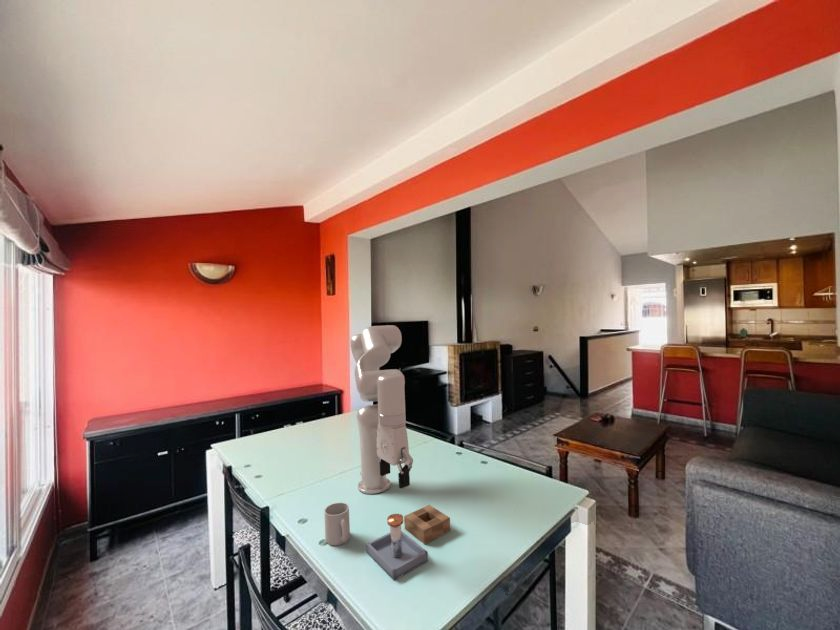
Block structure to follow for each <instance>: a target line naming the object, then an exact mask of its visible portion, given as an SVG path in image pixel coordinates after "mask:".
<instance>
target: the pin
mask: <svg viewBox="0 0 840 630" xmlns="http://www.w3.org/2000/svg"><path fill="white" fill-rule="evenodd" d="M386 520H387V522H386V523H387V526H389V529H390V531H389V533H391V552H392V557H393V558H400V557H401V556H402V555H403V552H402V533H401V531H402V524H403V523H404V516H403V515H402V514H400V513H393V514H390V515H388V516H387V519H386Z"/></svg>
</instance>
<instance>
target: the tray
mask: <svg viewBox="0 0 840 630" xmlns="http://www.w3.org/2000/svg"><path fill="white" fill-rule="evenodd" d="M401 533H402V552H403V555H402V556H401V557H400V558H393V557H392V552H391V533H390V532H388V533H387V534H384V535H382V536H380V537H377V538H375V539H373V540H372V541H369V542H367V543H366V544H365V545H366V546H365V548H366V549H365V550H366V554H367V555H368V556H369V557H370V558H371V559H372V560H374V561H375V563H376V564H377V565H378V566H379V567H380V568H381V570H383V571H384V572H385V573H386V575H387V576H389V578H391V579H392V580H393V581H395V580H397V579H399V578H400V577H402V576H404V575H405V574H408V573H410V572H411V571H413V570H414V569H417V567H421V566H422V565H423V564H425V563H427V562H429V552H428V551H427V550H426V549H425V548H423V547H422V546H421V545H420V544H419V543H417V542H416V541H415V540H413V539H412V538H411V537H410V536H409V535H408V534H406V533H405V532H404V531H403V530H401Z"/></svg>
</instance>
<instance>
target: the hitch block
mask: <svg viewBox="0 0 840 630" xmlns="http://www.w3.org/2000/svg"><path fill="white" fill-rule="evenodd" d="M403 523H404V530H406V531H407V532H408V533H409V534H411V535H412V536H413V537H414V538H416V539H417V540H418V541H420V542H421V543H422V544H423V545H426V544H428V543H430V542H432V541H435V540H436V539H438V538H439V537H442V536H443V535H445V534H447V533H449V532H451V518H450V516H448V515H446V514H445V513H443V512H442V511H440V510H439V509H437V508H436V507H434V506H432V505H431V504H428V505H426V506H423V507H421V508H419V509H416V510H415V511H412V512H410V513H408V514H405V515H404V516H403Z"/></svg>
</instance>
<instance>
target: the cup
mask: <svg viewBox="0 0 840 630" xmlns="http://www.w3.org/2000/svg"><path fill="white" fill-rule="evenodd" d="M323 513H324V534H325V535H324V537H325V538H324V539H325V542H326V544H328V545H329V546H333V547H334V546H335V547H336V546H340V545H341V546H342V545H343V544H345V543H346V542H348V540H349V539H350V537H351V529H350V528H351V527H350V526H351V525H350V523H351V522H350V506H349V504H348V503H345V502H335V503H331V504H329V505H327V506H326V507H325V508H324V512H323Z"/></svg>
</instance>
